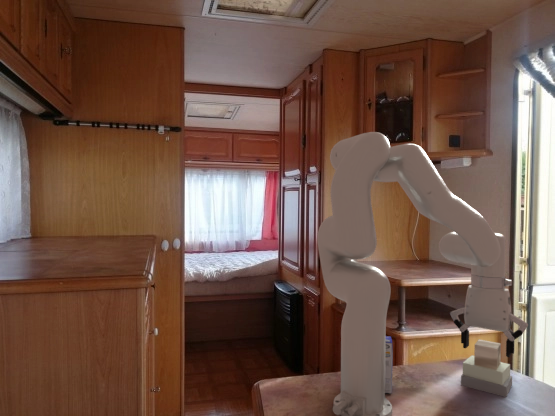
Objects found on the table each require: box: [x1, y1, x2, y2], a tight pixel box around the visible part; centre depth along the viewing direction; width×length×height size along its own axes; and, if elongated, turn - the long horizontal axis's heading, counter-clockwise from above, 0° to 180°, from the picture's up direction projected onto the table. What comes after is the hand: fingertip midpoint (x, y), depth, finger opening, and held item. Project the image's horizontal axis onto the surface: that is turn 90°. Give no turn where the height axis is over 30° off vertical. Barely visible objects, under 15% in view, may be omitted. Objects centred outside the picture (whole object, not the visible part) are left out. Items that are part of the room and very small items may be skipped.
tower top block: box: [462, 354, 511, 385], centre depth 103 cm, size 7×9×3 cm
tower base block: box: [460, 373, 513, 398], centre depth 102 cm, size 8×10×3 cm
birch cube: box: [473, 339, 502, 370], centre depth 102 cm, size 5×5×5 cm
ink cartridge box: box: [385, 335, 394, 394], centre depth 101 cm, size 10×6×14 cm, turn 78°
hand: (486, 351), depth 102 cm, fingers open, 9 cm apart
